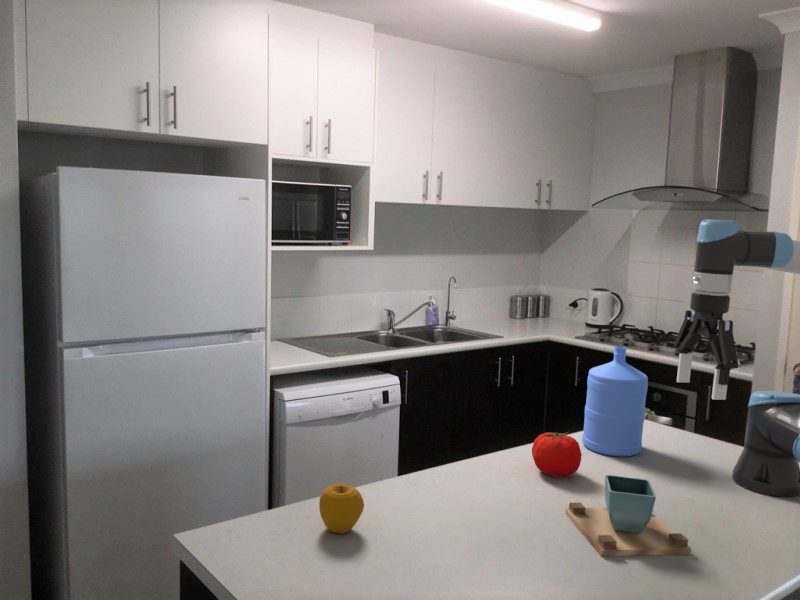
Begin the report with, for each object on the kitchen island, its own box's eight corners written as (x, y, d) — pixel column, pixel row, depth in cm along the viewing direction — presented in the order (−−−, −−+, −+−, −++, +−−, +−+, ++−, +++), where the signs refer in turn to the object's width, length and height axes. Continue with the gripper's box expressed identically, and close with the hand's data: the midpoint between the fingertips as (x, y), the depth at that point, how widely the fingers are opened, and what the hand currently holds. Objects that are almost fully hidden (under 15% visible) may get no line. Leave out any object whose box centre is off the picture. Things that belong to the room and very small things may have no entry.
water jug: (632, 462, 181) (643, 356, 177) (573, 448, 189) (582, 347, 185) (647, 446, 194) (657, 347, 190) (592, 434, 202) (600, 339, 198)
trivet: (644, 512, 151) (645, 500, 150) (690, 554, 133) (692, 540, 133) (565, 513, 148) (566, 501, 148) (601, 556, 131) (602, 542, 130)
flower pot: (652, 540, 135) (656, 496, 134) (605, 534, 137) (609, 491, 136) (644, 520, 144) (649, 479, 143) (600, 515, 145) (604, 474, 144)
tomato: (586, 472, 172) (589, 432, 171) (570, 487, 163) (574, 444, 161) (540, 461, 179) (543, 422, 177) (522, 474, 169) (526, 433, 168)
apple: (368, 524, 139) (370, 482, 137) (351, 543, 131) (353, 498, 130) (329, 516, 141) (331, 474, 140) (310, 534, 133) (312, 490, 132)
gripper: (664, 285, 159) (654, 375, 162) (730, 300, 135) (718, 407, 138) (694, 286, 161) (684, 375, 164) (765, 302, 136) (752, 407, 139)
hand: (699, 390), depth 151 cm, fingers open, 13 cm apart
